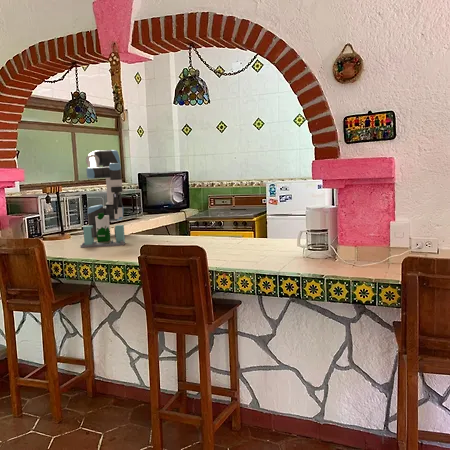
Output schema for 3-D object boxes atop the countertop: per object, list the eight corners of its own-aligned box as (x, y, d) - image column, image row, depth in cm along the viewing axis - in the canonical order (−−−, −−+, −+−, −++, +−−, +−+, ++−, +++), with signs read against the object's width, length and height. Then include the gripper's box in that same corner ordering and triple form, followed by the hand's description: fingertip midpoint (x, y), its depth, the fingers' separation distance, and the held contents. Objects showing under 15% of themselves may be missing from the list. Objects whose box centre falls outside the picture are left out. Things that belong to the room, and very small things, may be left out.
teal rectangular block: (86, 243, 320) (85, 225, 319) (95, 243, 320) (93, 225, 319) (84, 244, 315) (83, 226, 314) (93, 244, 315) (91, 226, 314)
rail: (83, 245, 321) (83, 241, 321) (125, 243, 322) (125, 239, 322) (80, 247, 314) (80, 243, 314) (123, 245, 315) (123, 241, 315)
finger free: (116, 242, 329) (115, 225, 327) (125, 242, 329) (123, 224, 327) (115, 243, 324) (114, 226, 322) (123, 243, 324) (122, 225, 322)
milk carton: (95, 242, 335) (93, 213, 333) (100, 240, 344) (98, 212, 341) (108, 241, 334) (105, 213, 332) (112, 239, 343) (110, 212, 341)
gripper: (114, 186, 334) (116, 216, 336) (106, 187, 309) (109, 219, 312) (125, 185, 334) (127, 215, 336) (118, 186, 309) (120, 219, 312)
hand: (118, 217), depth 324 cm, fingers open, 13 cm apart
